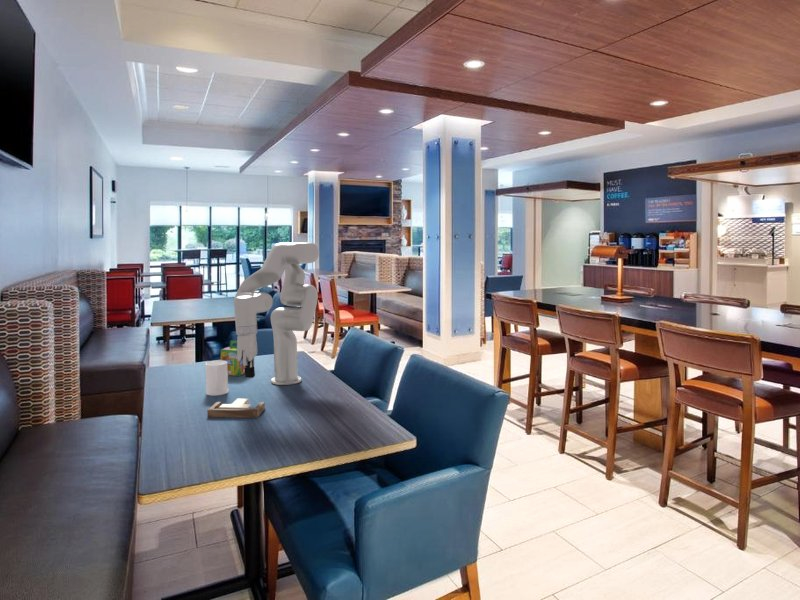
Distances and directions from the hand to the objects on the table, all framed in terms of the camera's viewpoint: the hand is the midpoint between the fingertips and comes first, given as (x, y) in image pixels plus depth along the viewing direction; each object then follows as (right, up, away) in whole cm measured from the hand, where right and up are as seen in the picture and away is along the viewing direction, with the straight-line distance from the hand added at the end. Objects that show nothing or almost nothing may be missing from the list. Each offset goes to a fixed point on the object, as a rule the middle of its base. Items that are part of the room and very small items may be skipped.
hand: (250, 376), depth 196 cm
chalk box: (-18, -4, +39) cm, 44 cm away
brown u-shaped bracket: (-1, -10, -13) cm, 17 cm away
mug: (-15, -8, +9) cm, 19 cm away
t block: (-1, -10, -12) cm, 16 cm away
